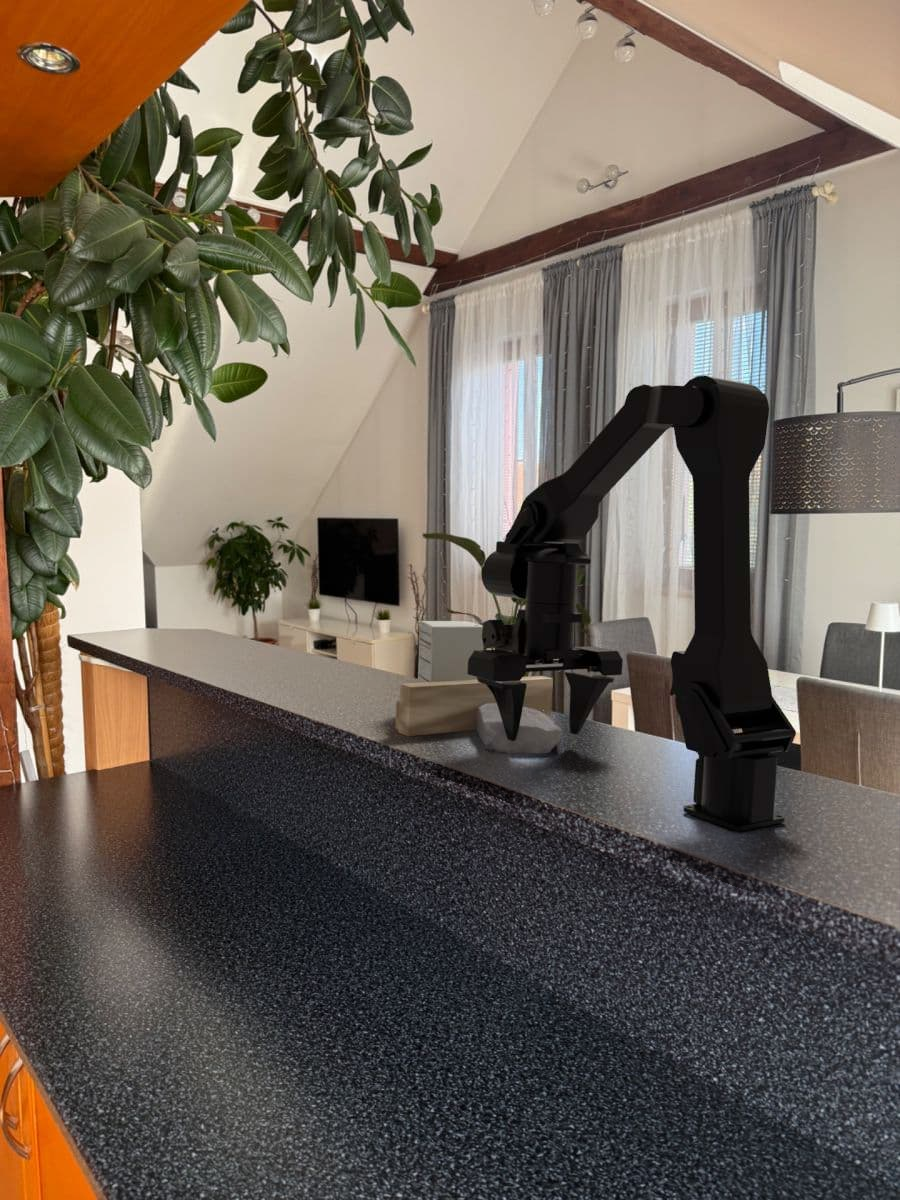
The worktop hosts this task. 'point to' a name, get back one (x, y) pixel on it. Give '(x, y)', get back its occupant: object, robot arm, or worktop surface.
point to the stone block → (532, 734)
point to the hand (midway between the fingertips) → (543, 737)
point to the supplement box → (447, 650)
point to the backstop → (458, 704)
